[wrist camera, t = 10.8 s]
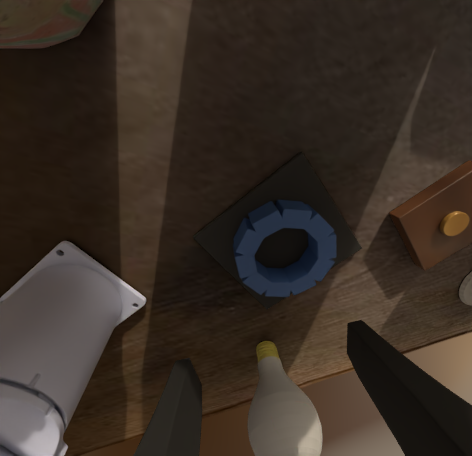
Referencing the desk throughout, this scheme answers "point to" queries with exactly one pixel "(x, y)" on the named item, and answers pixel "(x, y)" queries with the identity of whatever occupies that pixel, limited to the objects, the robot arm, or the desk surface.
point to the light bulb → (281, 412)
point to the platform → (437, 218)
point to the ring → (297, 274)
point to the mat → (286, 239)
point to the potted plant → (43, 21)
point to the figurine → (466, 290)
